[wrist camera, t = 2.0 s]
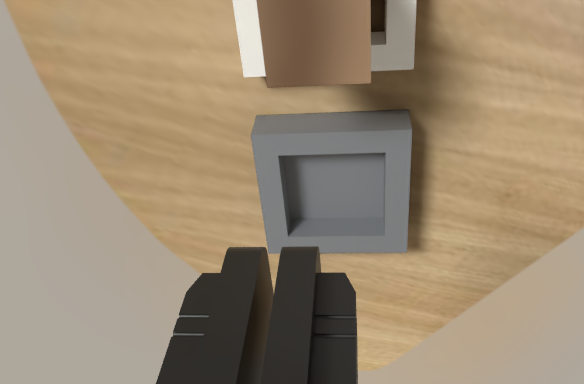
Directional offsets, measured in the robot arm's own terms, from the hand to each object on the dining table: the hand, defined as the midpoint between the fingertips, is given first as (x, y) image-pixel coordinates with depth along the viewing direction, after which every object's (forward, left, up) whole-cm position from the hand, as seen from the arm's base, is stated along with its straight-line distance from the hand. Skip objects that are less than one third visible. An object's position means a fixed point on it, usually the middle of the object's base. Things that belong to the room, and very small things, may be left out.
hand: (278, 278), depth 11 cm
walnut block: (0, 0, -23) cm, 23 cm away
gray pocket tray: (0, +13, -23) cm, 26 cm away
